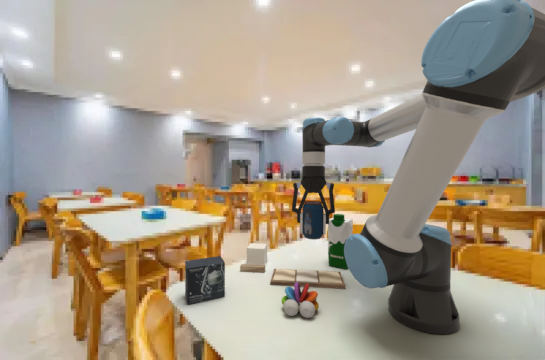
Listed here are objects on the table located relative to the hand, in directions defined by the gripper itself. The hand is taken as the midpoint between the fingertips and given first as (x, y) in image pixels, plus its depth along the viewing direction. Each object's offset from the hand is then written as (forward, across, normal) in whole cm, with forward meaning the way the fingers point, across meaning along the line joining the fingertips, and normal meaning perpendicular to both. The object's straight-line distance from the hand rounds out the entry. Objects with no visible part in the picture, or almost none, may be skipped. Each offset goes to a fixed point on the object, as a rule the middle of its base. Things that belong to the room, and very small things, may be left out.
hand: (312, 232), depth 83 cm
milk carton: (+16, -11, -14) cm, 24 cm away
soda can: (+2, 0, 0) cm, 2 cm away
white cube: (+13, +22, -8) cm, 26 cm away
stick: (+16, +22, -3) cm, 27 cm away
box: (+16, +31, +18) cm, 39 cm away
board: (+16, +2, +1) cm, 16 cm away
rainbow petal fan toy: (+16, +3, +21) cm, 26 cm away
